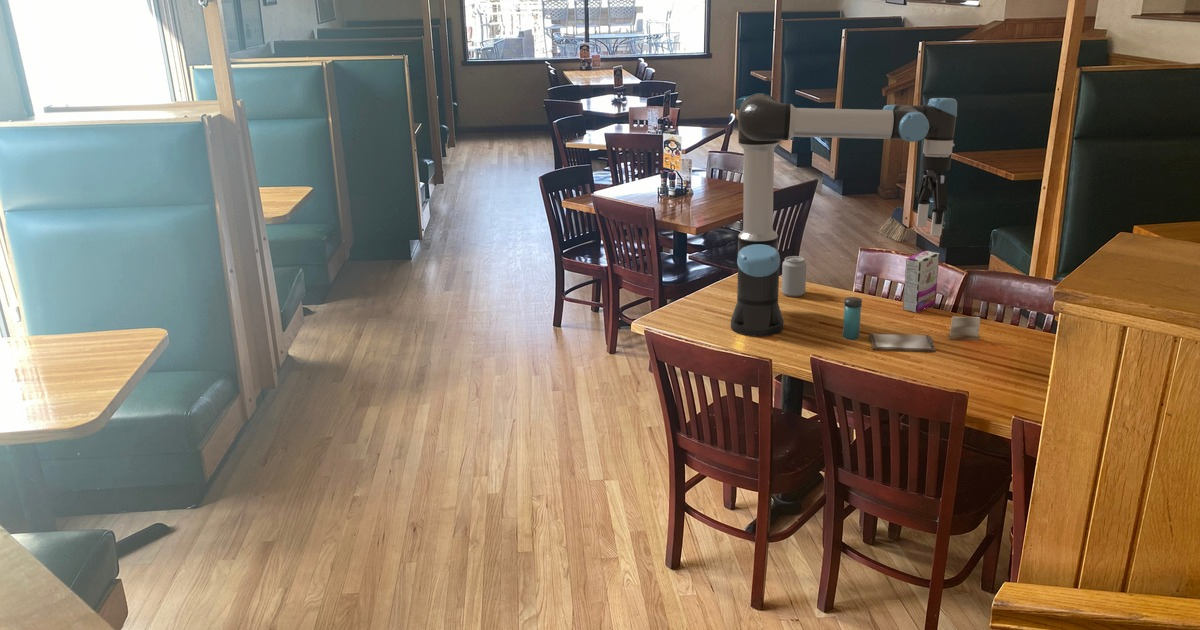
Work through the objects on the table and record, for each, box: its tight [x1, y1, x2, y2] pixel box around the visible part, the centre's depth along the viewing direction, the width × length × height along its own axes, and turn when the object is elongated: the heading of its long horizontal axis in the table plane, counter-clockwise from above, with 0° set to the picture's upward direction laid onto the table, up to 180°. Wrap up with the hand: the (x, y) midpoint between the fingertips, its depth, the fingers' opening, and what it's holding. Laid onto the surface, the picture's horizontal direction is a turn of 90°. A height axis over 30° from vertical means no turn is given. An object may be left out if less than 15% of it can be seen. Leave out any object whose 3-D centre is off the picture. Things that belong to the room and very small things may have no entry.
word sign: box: [947, 316, 981, 342], centre depth 238 cm, size 8×2×6 cm, turn 79°
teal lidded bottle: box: [842, 296, 863, 341], centre depth 242 cm, size 5×5×11 cm
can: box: [781, 255, 808, 298], centre depth 278 cm, size 8×8×12 cm
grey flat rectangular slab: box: [868, 333, 937, 353], centre depth 237 cm, size 16×11×2 cm
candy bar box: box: [902, 250, 940, 314], centre depth 262 cm, size 11×5×16 cm, turn 131°
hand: (928, 231), depth 247 cm, fingers open, 13 cm apart
